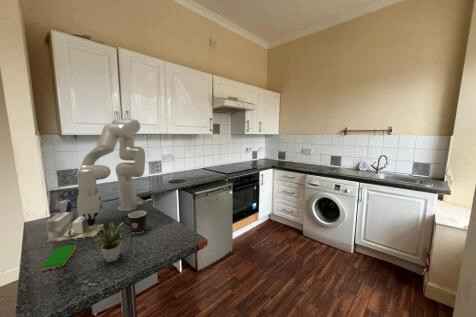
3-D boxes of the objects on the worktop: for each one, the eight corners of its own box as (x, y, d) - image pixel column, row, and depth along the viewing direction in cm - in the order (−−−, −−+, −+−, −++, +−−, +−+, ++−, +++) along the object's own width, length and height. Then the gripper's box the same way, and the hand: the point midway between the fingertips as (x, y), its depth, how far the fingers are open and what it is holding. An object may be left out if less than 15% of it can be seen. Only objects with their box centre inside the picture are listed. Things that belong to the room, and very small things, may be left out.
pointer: (73, 234, 101) (71, 224, 100) (71, 236, 99) (69, 226, 99) (70, 234, 101) (69, 225, 100) (68, 237, 99) (67, 227, 98)
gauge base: (103, 225, 113) (102, 209, 112) (94, 237, 102) (93, 218, 100) (61, 230, 108) (59, 212, 106) (47, 242, 96) (44, 223, 95)
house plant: (83, 275, 76) (78, 235, 73) (92, 254, 88) (88, 219, 86) (126, 265, 81) (123, 228, 79) (129, 247, 94) (126, 214, 91)
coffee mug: (151, 229, 110) (150, 212, 108) (137, 237, 102) (135, 219, 100) (136, 225, 114) (135, 208, 113) (122, 232, 107) (120, 214, 105)
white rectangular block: (89, 226, 109) (88, 215, 108) (81, 235, 100) (79, 224, 99) (80, 227, 108) (78, 216, 107) (70, 236, 99) (69, 225, 98)
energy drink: (75, 219, 121) (73, 200, 119) (65, 223, 116) (62, 203, 114) (69, 217, 122) (66, 199, 120) (59, 221, 117) (56, 202, 115)
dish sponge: (77, 248, 93) (76, 244, 92) (64, 268, 80) (63, 263, 80) (57, 252, 90) (57, 247, 90) (41, 273, 77) (40, 267, 77)
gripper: (107, 188, 109) (110, 220, 112) (74, 190, 105) (78, 223, 108) (102, 193, 102) (105, 226, 105) (67, 195, 98) (71, 230, 101)
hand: (91, 225), depth 106 cm, fingers closed
